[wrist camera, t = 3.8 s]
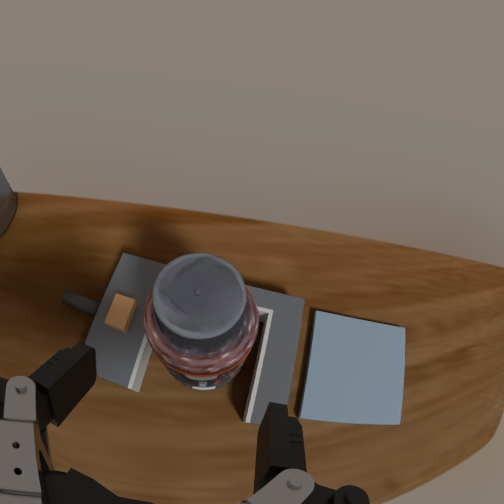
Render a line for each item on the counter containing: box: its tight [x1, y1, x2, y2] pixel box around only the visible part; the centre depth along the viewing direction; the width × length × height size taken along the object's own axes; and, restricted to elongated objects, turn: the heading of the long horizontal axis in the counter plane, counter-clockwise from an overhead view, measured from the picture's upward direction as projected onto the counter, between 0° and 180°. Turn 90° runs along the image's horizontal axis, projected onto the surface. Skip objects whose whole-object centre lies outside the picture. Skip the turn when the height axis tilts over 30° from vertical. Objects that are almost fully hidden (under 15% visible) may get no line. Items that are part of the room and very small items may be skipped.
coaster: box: [298, 310, 405, 425], centre depth 21 cm, size 9×9×1 cm
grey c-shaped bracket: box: [62, 253, 305, 425], centre depth 20 cm, size 19×10×3 cm, turn 78°
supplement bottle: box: [143, 253, 259, 390], centre depth 16 cm, size 6×6×11 cm
